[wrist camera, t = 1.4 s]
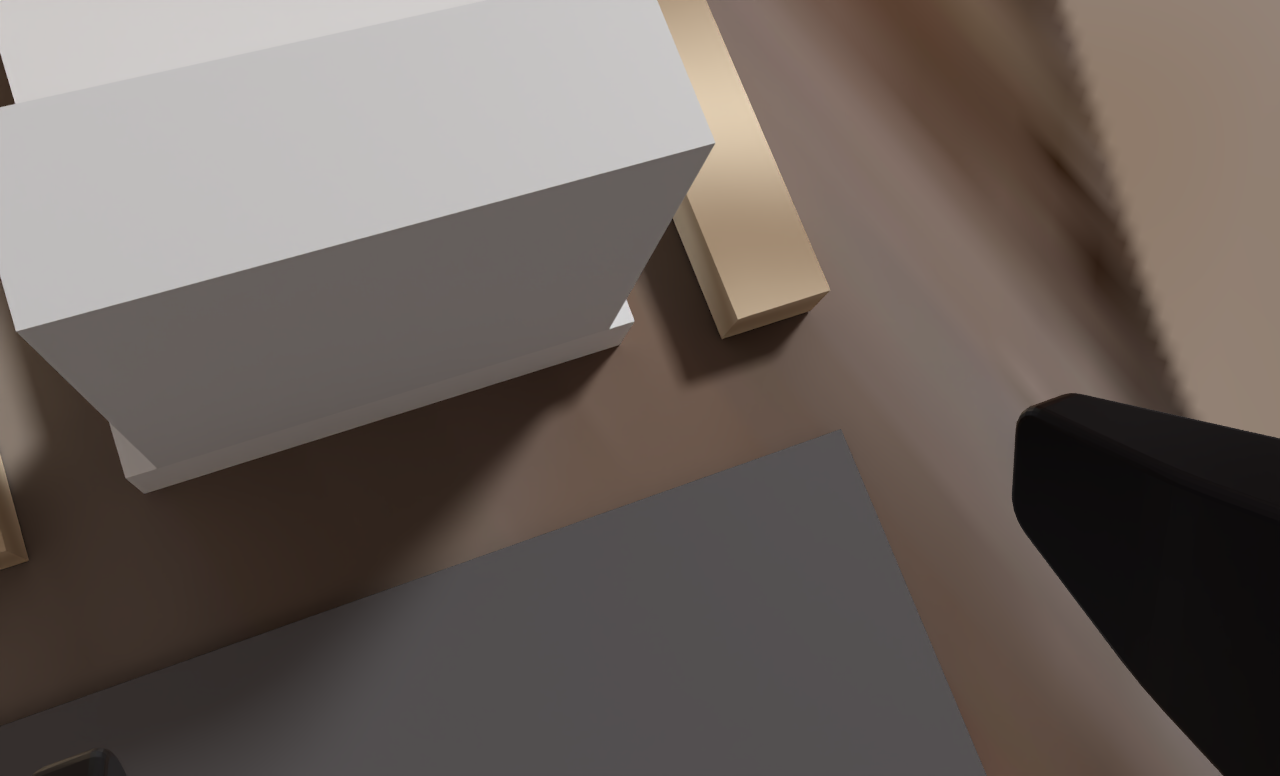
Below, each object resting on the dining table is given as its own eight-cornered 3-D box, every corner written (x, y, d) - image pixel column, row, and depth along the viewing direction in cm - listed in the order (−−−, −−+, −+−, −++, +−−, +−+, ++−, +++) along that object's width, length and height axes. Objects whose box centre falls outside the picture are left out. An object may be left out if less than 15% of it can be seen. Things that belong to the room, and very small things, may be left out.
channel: (810, 311, 24) (830, 290, 23) (-101, 601, 19) (-132, 593, 18) (573, -249, 27) (580, -293, 25) (-274, -110, 22) (-312, -156, 21)
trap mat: (982, 779, 22) (988, 780, 22) (84, 1195, 18) (80, 1201, 17) (836, 432, 23) (841, 429, 23) (-31, 738, 19) (-36, 738, 19)
